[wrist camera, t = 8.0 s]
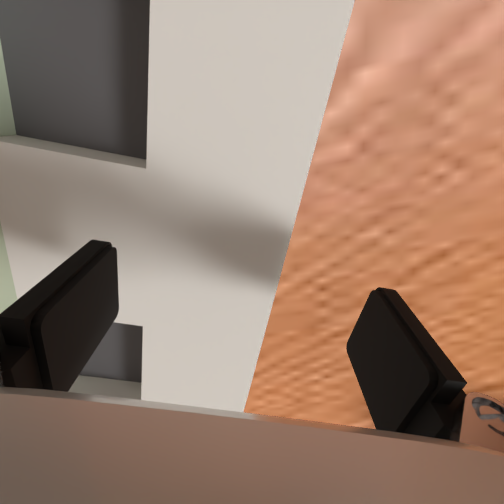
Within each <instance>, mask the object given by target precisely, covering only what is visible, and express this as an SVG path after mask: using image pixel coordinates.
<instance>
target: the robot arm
mask: <svg viewBox="0 0 504 504" xmlns="http://www.w3.org/2000/svg"><path fill="white" fill-rule="evenodd" d="M118 312H119V294H118V266H117V249H116V248H115V247H112V244H111V243H110V242H106V241H100V240H93V239H92V240H90V241H89V242H88V243H87V244H85V245H84V246H83V247H82V248H80V249H79V250H78V251H77V252H75V253H74V254H73V255H72V256H71V257H69V258H68V259H67V260H66V261H64V262H63V263H62V264H61V265H59V266H58V267H57V268H56V269H55V270H53V271H52V272H51V273H50V274H48V275H47V276H46V277H45V278H44V279H42V280H41V281H40V282H39V283H37V284H36V285H35V286H34V287H32V288H31V289H30V290H29V291H28V292H26V293H25V294H24V295H23V296H21V297H20V298H19V299H18V300H17V301H15V302H14V303H13V304H12V305H10V306H9V307H8V308H7V309H5V310H4V311H3V312H2V313H1V314H0V504H504V404H502V403H501V402H499V401H498V400H496V399H494V398H492V397H490V396H488V395H485V394H482V393H478V392H471V393H469V394H467V395H466V394H465V393H464V391H463V390H462V389H463V388H464V386H465V385H466V384H467V382H466V381H465V380H464V378H463V377H462V376H461V374H460V373H459V372H458V370H457V369H456V368H455V367H454V365H453V364H452V363H451V361H450V360H449V359H448V357H447V356H446V355H445V354H444V352H443V351H442V350H441V348H440V347H439V346H438V345H437V343H436V342H435V341H434V339H433V338H432V337H431V335H430V334H429V333H428V332H427V330H426V329H425V328H424V326H423V325H422V324H421V322H420V321H419V320H418V319H417V317H416V316H415V315H414V313H413V312H412V311H411V309H410V308H409V307H408V306H407V304H406V303H405V302H404V300H403V299H402V298H401V296H400V295H399V294H398V293H397V291H395V290H392V289H386V288H380V287H379V288H377V289H376V290H373V291H372V292H371V293H370V295H369V297H368V299H367V301H366V304H365V306H364V308H363V310H362V312H361V314H360V316H359V318H358V321H357V323H356V325H355V327H354V329H353V331H352V333H351V336H350V338H349V340H348V342H347V353H348V356H349V358H350V361H351V364H352V366H353V369H354V372H355V374H356V377H357V379H358V382H359V385H360V387H361V390H362V393H363V395H364V398H365V401H366V403H367V406H368V409H369V411H370V414H371V416H372V419H373V422H374V424H375V427H376V429H368V428H361V427H353V426H346V425H338V424H330V423H323V422H315V421H307V420H300V419H292V418H284V417H276V416H268V415H260V414H252V413H244V412H236V411H228V410H220V409H212V408H204V407H196V406H187V405H179V404H170V403H162V402H154V401H145V400H137V399H129V398H120V397H112V396H103V395H93V394H84V393H74V392H68V391H69V389H70V388H71V386H72V385H73V383H74V382H75V380H76V379H77V377H78V376H79V374H80V373H81V371H82V370H83V368H84V366H85V365H86V363H87V362H88V360H89V359H90V357H91V356H92V354H93V353H94V351H95V350H96V348H97V347H98V345H99V344H100V342H101V340H102V339H103V337H104V336H105V334H106V333H107V331H108V330H109V328H110V327H111V325H112V324H113V322H114V321H115V319H116V317H117V315H118Z"/></svg>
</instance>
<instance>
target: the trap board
mask: <svg viewBox="0 0 504 504" xmlns="http://www.w3.org/2000/svg"><path fill="white" fill-rule="evenodd" d="M354 2H355V0H0V314H1V313H2V312H3V311H4V310H5V309H7V308H8V307H9V306H10V305H12V304H13V303H14V302H15V301H17V300H18V299H19V298H20V297H21V296H23V295H24V294H25V293H26V292H28V291H29V290H30V289H31V288H32V287H34V286H35V285H36V284H37V283H39V282H40V281H41V280H42V279H44V278H45V277H46V276H47V275H48V274H50V273H51V272H52V271H53V270H55V269H56V268H57V267H58V266H59V265H61V264H62V263H63V262H64V261H66V260H67V259H68V258H69V257H71V256H72V255H73V254H74V253H75V252H77V251H78V250H79V249H80V248H82V247H83V246H84V245H85V244H87V243H88V242H89V241H90V240H92V239H93V240H100V241H106V242H110V243H111V244H112V247H115V248H116V249H117V266H118V294H119V312H118V315H117V317H116V319H115V321H114V322H113V324H112V325H111V327H110V328H109V330H108V331H107V333H106V334H105V336H104V337H103V339H102V340H101V342H100V344H99V345H98V347H97V348H96V350H95V351H94V353H93V354H92V356H91V357H90V359H89V360H88V362H87V363H86V365H85V366H84V368H83V370H82V371H81V373H80V374H79V376H78V377H77V379H76V380H75V382H74V383H73V385H72V386H71V388H70V389H69V391H68V392H74V393H84V394H93V395H103V396H112V397H120V398H129V399H137V400H145V401H154V402H162V403H170V404H179V405H187V406H196V407H204V408H212V409H220V410H228V411H236V412H244V408H245V404H246V400H247V397H248V393H249V389H250V386H251V382H252V378H253V375H254V371H255V367H256V364H257V360H258V356H259V352H260V349H261V345H262V341H263V338H264V334H265V330H266V327H267V323H268V319H269V315H270V312H271V308H272V304H273V301H274V297H275V293H276V290H277V286H278V282H279V279H280V275H281V271H282V267H283V264H284V260H285V256H286V253H287V249H288V245H289V242H290V238H291V234H292V231H293V227H294V223H295V219H296V216H297V212H298V208H299V205H300V201H301V197H302V194H303V190H304V186H305V183H306V179H307V175H308V171H309V168H310V164H311V160H312V157H313V153H314V149H315V146H316V142H317V138H318V134H319V131H320V127H321V123H322V120H323V116H324V112H325V109H326V105H327V101H328V98H329V94H330V90H331V86H332V83H333V79H334V75H335V72H336V68H337V64H338V61H339V57H340V53H341V50H342V46H343V42H344V38H345V35H346V31H347V27H348V24H349V20H350V16H351V13H352V9H353V5H354Z"/></svg>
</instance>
